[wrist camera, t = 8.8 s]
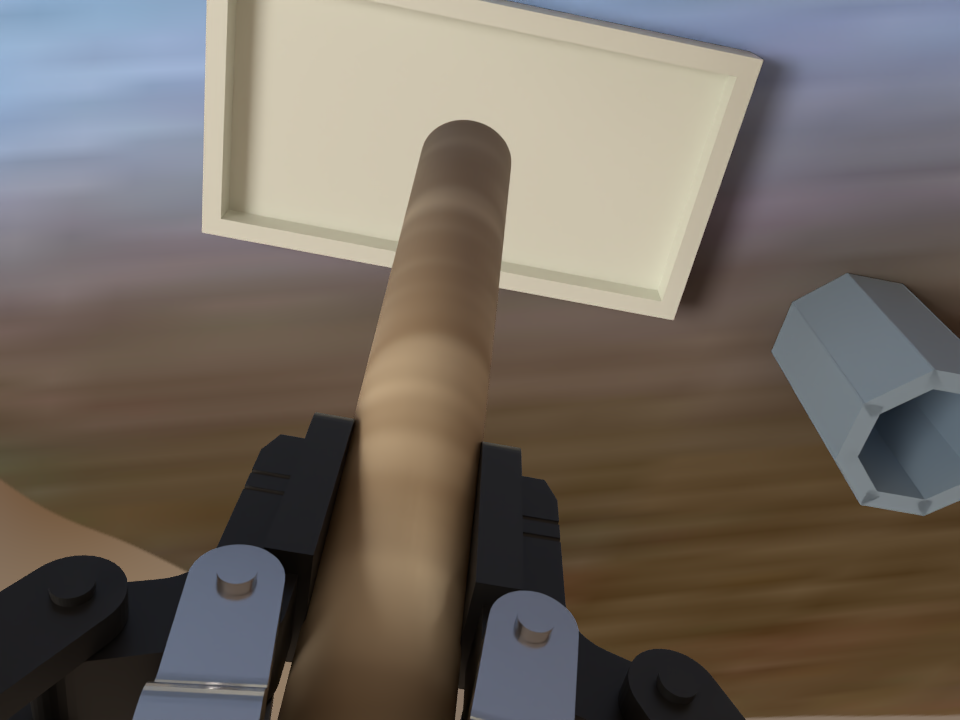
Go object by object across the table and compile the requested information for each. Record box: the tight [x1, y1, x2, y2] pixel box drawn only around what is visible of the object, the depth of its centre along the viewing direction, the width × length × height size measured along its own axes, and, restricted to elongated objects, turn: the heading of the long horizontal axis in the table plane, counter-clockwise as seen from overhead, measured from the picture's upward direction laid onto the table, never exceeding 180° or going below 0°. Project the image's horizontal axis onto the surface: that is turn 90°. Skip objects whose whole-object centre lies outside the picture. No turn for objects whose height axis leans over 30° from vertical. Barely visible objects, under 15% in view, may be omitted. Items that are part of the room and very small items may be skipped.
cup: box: [772, 273, 960, 516], centre depth 36 cm, size 7×7×9 cm
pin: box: [278, 120, 511, 720], centre depth 16 cm, size 6×2×16 cm, turn 169°
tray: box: [202, 0, 763, 320], centre depth 35 cm, size 12×22×2 cm, turn 79°
